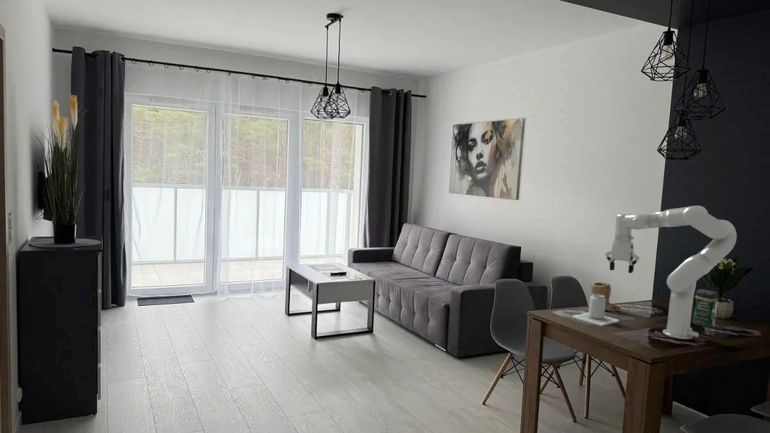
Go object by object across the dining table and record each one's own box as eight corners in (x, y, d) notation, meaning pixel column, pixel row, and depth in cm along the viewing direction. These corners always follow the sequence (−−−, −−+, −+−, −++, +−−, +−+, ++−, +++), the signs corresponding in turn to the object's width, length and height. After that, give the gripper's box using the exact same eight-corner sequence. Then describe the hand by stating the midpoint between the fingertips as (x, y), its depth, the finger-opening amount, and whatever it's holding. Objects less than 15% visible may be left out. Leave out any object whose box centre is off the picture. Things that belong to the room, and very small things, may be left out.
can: (601, 316, 278) (603, 293, 277) (605, 320, 270) (608, 297, 269) (586, 315, 279) (588, 292, 278) (590, 319, 271) (592, 296, 270)
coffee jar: (689, 323, 278) (693, 288, 276) (696, 321, 283) (700, 287, 281) (710, 328, 270) (714, 292, 268) (716, 326, 275) (720, 291, 273)
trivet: (618, 321, 273) (618, 319, 273) (601, 326, 264) (601, 323, 264) (590, 314, 286) (590, 312, 286) (572, 317, 276) (573, 315, 276)
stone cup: (584, 306, 302) (586, 280, 300) (597, 304, 308) (599, 279, 307) (608, 313, 289) (610, 286, 288) (621, 311, 296) (623, 285, 294)
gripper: (643, 239, 267) (641, 273, 268) (610, 236, 280) (608, 268, 281) (636, 240, 262) (634, 274, 263) (603, 236, 275) (601, 269, 276)
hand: (621, 271), depth 272 cm, fingers open, 9 cm apart
